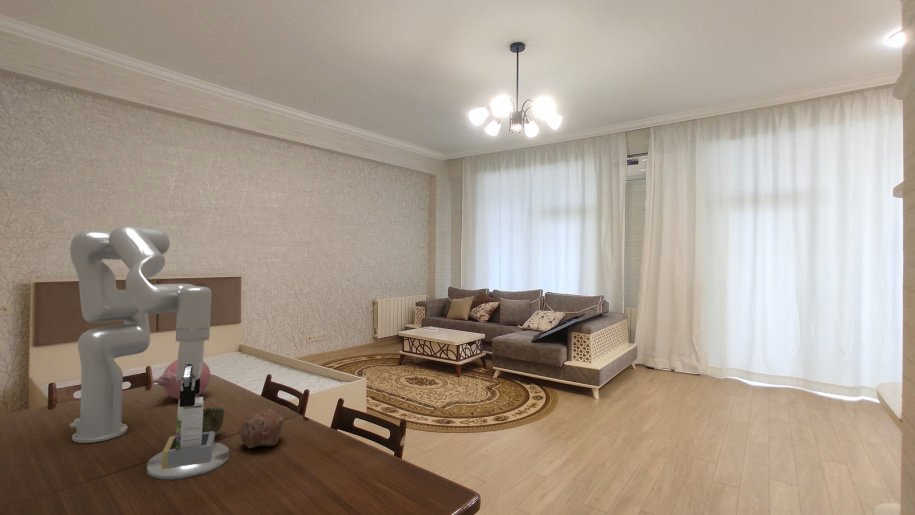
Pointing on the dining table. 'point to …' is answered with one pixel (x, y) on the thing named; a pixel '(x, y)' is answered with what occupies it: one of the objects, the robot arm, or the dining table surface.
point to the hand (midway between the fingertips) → (189, 399)
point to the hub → (188, 459)
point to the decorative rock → (261, 429)
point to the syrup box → (190, 424)
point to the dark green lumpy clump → (212, 419)
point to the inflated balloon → (175, 387)
